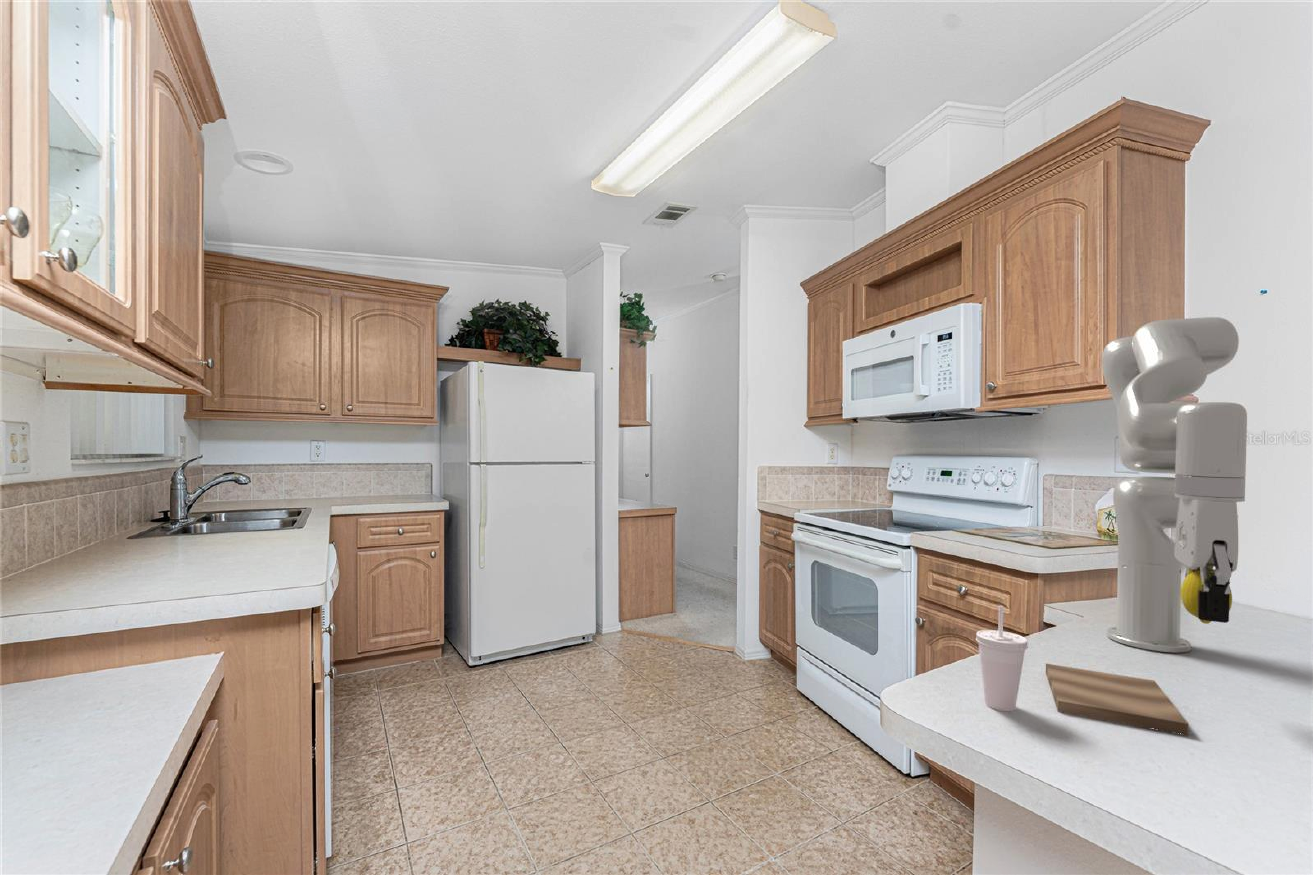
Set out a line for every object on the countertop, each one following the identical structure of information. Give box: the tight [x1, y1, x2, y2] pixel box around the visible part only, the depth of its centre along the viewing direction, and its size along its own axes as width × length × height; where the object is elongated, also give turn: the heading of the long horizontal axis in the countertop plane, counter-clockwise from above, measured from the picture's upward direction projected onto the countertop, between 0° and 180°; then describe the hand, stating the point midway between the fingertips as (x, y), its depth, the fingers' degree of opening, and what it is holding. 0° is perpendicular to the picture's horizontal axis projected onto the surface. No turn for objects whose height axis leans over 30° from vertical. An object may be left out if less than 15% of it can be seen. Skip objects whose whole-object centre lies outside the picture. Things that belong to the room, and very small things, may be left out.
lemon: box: [1181, 568, 1233, 624], centre depth 89 cm, size 6×6×8 cm
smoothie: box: [975, 605, 1029, 712], centre depth 87 cm, size 6×6×14 cm
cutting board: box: [1045, 663, 1189, 736], centre depth 90 cm, size 17×14×2 cm
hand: (1205, 613), depth 89 cm, fingers closed on lemon, 5 cm apart
